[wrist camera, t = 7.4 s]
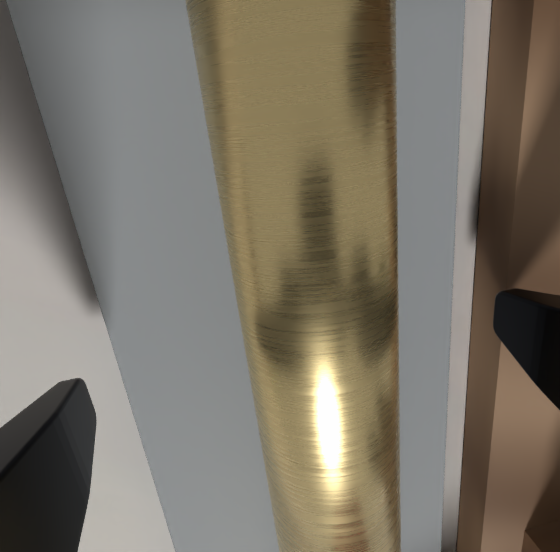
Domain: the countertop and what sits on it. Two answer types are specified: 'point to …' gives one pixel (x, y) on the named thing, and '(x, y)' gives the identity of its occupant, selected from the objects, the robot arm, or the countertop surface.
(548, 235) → the stand
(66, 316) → the countertop surface
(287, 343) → the rail
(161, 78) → the mat
